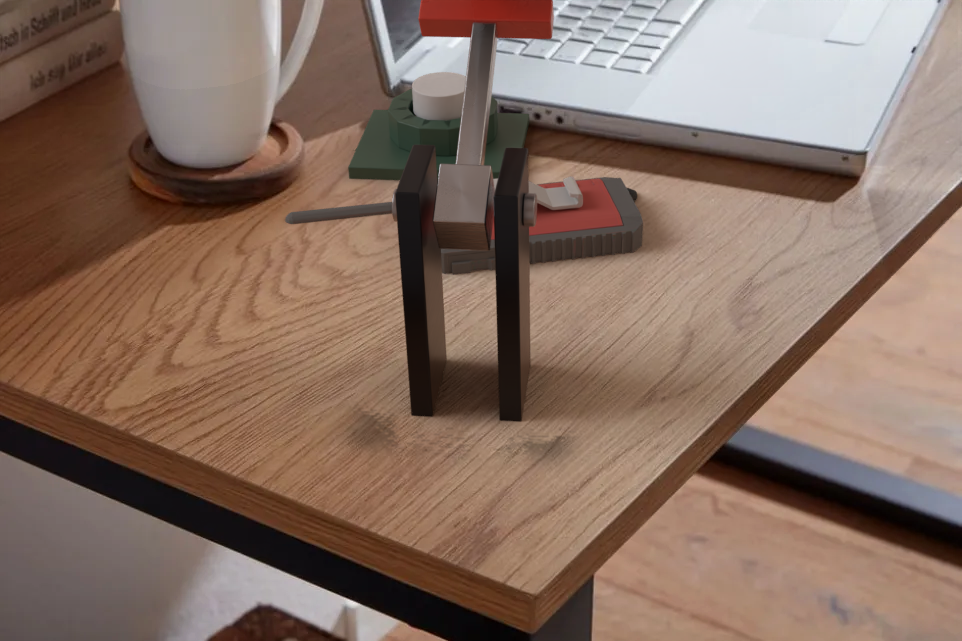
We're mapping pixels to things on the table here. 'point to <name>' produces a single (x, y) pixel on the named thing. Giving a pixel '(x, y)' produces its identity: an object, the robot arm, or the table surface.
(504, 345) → the bracket
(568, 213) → the walkie-talkie
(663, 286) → the table surface
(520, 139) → the switch box
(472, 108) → the lever
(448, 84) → the button
